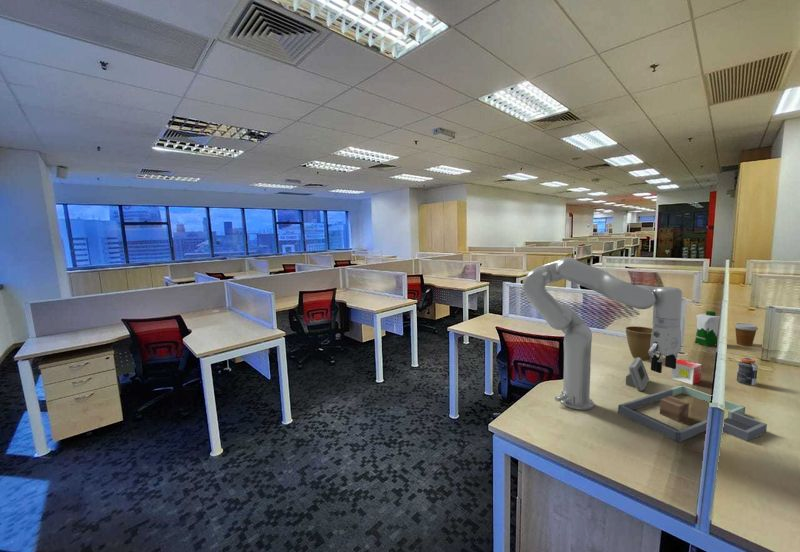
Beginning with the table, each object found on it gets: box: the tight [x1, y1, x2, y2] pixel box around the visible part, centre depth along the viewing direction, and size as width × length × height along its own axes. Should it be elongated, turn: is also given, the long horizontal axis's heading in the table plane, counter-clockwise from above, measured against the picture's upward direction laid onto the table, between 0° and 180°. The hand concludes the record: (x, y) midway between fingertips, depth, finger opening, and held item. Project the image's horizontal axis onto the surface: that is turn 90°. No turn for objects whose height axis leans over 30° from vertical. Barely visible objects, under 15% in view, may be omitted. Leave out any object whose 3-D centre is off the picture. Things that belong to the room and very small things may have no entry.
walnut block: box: [659, 396, 690, 423], centre depth 119 cm, size 6×6×6 cm
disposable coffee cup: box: [734, 322, 759, 347], centre depth 189 cm, size 10×10×12 cm
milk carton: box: [694, 310, 721, 347], centre depth 191 cm, size 9×9×20 cm
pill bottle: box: [736, 357, 758, 386], centre depth 142 cm, size 6×6×11 cm
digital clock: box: [625, 357, 650, 392], centre depth 145 cm, size 16×9×11 cm, turn 123°
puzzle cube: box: [671, 358, 703, 386], centre depth 147 cm, size 8×8×8 cm
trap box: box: [617, 384, 768, 443], centre depth 117 cm, size 40×28×3 cm
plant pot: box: [625, 325, 653, 361], centre depth 175 cm, size 15×15×16 cm
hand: (663, 369), depth 114 cm, fingers open, 7 cm apart
